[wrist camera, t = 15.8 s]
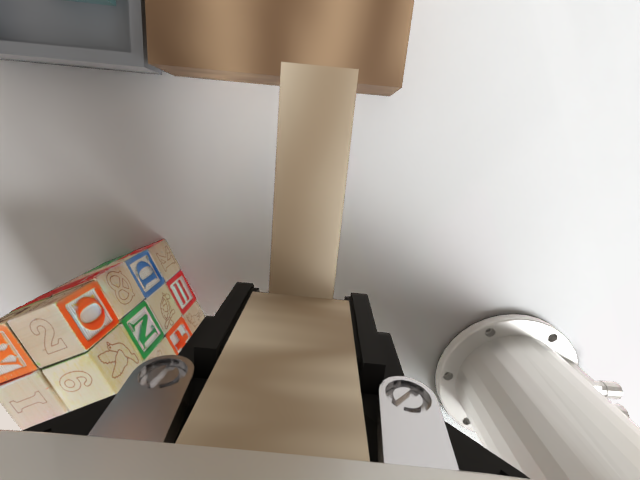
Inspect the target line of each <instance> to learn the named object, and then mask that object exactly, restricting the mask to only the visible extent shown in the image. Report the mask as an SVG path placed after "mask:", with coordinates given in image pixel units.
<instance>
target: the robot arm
mask: <svg viewBox="0 0 640 480" xmlns="http://www.w3.org/2000/svg"><path fill="white" fill-rule="evenodd" d="M252 292H259V288H254V285H253V284H252V283H241V282H237V283H236V284H235V286H234V287H233V289H232V290H231V292H230V293H229V295H228V296H227V298H226V299H225V301H224V302H223V304H222V305H221V307H220V308H219V310H218V311H217V313H216V314H215V316H214V317H213V316H206V317H205V318H204V319H203V320H202V322H201V323H200V325H199V326H198V327H197V329H196V330H195V332H194V333H193V334H192V336H191V337H190V338H189V340H188V341H187V343H186V344H185V345H184V347H183V348H182V350H181V351H180V352H179V354H178V355H163V356H159V357H155V358H152V359H150V360H147V361H145V362H143V363H142V364H140V365H139V366H138V367H137V368H136V369H135V370H134V371H133V372H132V373H131V375H130V376H129V377H128V379H127V380H126V382H125V383H124V384H123V386H122V387H121V389H120V390H119V392H118V393H117V394H115V395H112V396H109V397H107V398H104V399H102V400H99V401H96V402H94V403H91V404H89V405H86V406H83V407H81V408H78V409H76V410H73V411H70V412H68V413H65V414H63V415H60V416H57V417H55V418H52V419H50V420H47V421H44V422H42V423H39V424H37V425H34V426H31V427H29V428H27V429H24V430H22V431H13V430H0V480H640V428H639V427H638V426H637V425H636V424H635V423H634V422H633V421H632V420H631V419H629V418H630V417H629V415H628V412H627V410H626V409H625V408H624V407H623V406H622V405H620V404H618V403H612V402H611V401H610V400H608V399H607V398H611V399H620V398H621V397H622V395H623V391H622V388H621V386H620V385H619V384H618V383H616V382H612V381H594V380H593V379H592V378H591V377H590V376H589V375H587V374H586V373H585V372H584V371H583V370H582V369H581V368H579V367H578V359H577V355H576V352H575V350H574V348H573V346H572V344H571V343H570V341H569V340H568V339H567V338H566V337H565V336H564V335H563V334H562V333H561V332H560V331H559V330H557V329H556V328H555V327H553V326H552V325H551V324H549V323H547V322H545V321H543V320H541V319H539V318H535V317H532V316H528V315H519V314H508V315H498V316H494V317H491V318H487V319H484V320H482V321H479V322H477V323H475V324H473V325H471V326H470V327H468V328H466V329H465V330H463V331H462V332H461V333H459V334H458V335H457V336H456V337H455V338H454V339H453V340H452V341H451V342H450V343H449V345H448V346H447V347H446V349H445V350H444V352H443V354H442V356H441V357H440V359H439V362H438V365H437V369H436V377H435V384H436V390H437V394H438V396H439V399H440V401H441V403H442V405H443V407H444V409H445V410H446V412H447V414H448V415H449V416H450V417H451V418H452V419H453V420H454V421H455V422H457V423H458V424H459V425H461V426H462V427H464V428H466V429H469V430H471V431H473V432H476V434H477V436H478V438H479V440H480V442H481V444H482V446H481V445H480V444H478V443H477V442H475V441H474V440H472V439H471V438H469V437H468V436H466V435H465V434H463V433H462V432H460V431H459V430H457V429H456V428H454V427H453V426H451V425H450V424H448V423H447V422H445V421H444V418H443V415H442V412H441V409H440V405H439V402H438V399H437V397H436V395H435V393H434V392H433V391H432V390H431V389H430V388H429V387H427V386H426V385H425V384H423V383H422V382H420V381H417V380H415V379H413V378H409V377H405V376H404V374H403V371H402V368H401V365H400V362H399V359H398V356H397V353H396V350H395V347H394V344H393V341H392V338H391V335H390V333H383V332H377V329H376V325H375V322H374V318H373V314H372V310H371V307H370V303H369V299H368V295H367V294H358V293H351V296H350V297H346V296H345V299H344V300H347V301H349V305H350V313H351V320H352V328H353V335H354V343H355V351H356V358H357V366H358V374H359V381H360V389H361V397H362V404H363V412H364V420H365V427H366V435H367V442H368V450H369V458H370V462H368V461H358V460H347V459H337V458H326V457H316V456H305V455H294V454H284V453H273V452H263V451H251V450H240V449H229V448H218V447H207V446H196V445H185V444H175V443H176V441H177V439H178V437H179V435H180V433H181V431H182V429H183V427H184V425H185V423H186V421H187V419H188V417H189V415H190V413H191V411H192V409H193V407H194V405H195V403H196V401H197V400H198V398H199V396H200V394H201V392H202V390H203V388H204V386H205V384H206V382H207V380H208V378H209V376H210V374H211V372H212V370H213V368H214V366H215V364H216V362H217V360H218V358H219V356H220V355H221V353H222V351H223V349H224V347H225V345H226V343H227V341H228V339H229V337H230V335H231V333H232V331H233V329H234V327H235V325H236V323H237V321H238V319H239V317H240V315H241V313H242V311H243V310H244V308H245V306H246V304H247V302H248V300H249V298H250V296H251V294H252Z"/></svg>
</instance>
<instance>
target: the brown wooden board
mask: <svg viewBox="0 0 640 480" xmlns="http://www.w3.org/2000/svg"><path fill="white" fill-rule="evenodd" d="M413 5H414V0H145V13H146V34H147V55H148V64H150V65H152V66H154V67H157V68H159V69H161V70H163V71H166V72H168V73H170V74H172V75H174V76H182V77H192V78H203V79H213V80H224V81H234V82H245V83H255V84H266V85H277V86H280V74H281V62H289V63H299V64H309V65H320V66H330V67H341V68H351V69H359V72H358V81H357V90H356V93H361V94H371V95H382V96H391V95H392V94H394V93H395V92H396V91H398V90H399V89H401V88H402V82H403V75H404V68H405V61H406V54H407V47H408V40H409V33H410V26H411V19H412V12H413Z"/></svg>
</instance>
